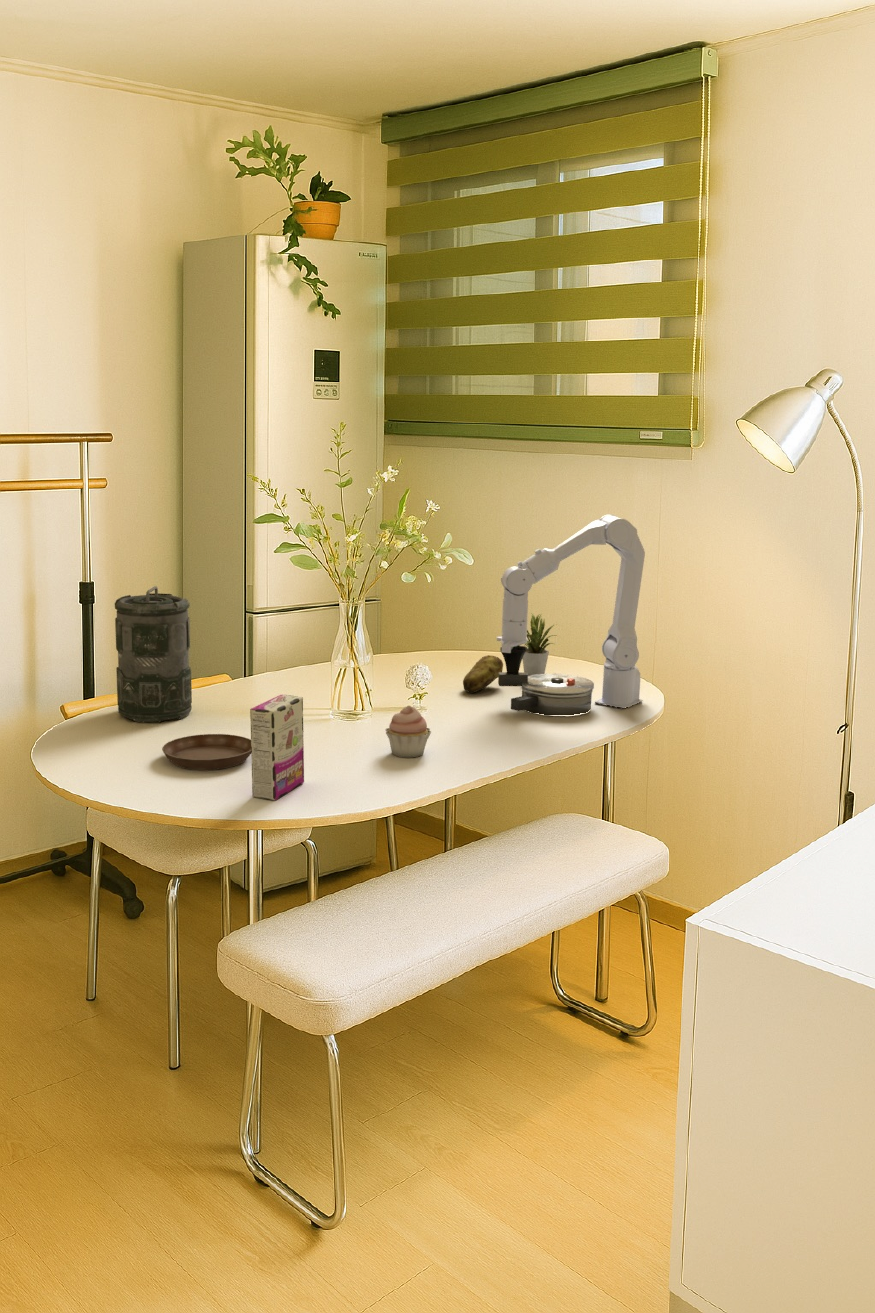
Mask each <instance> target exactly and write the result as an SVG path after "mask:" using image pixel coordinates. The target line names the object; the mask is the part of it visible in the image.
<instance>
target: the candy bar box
mask: <svg viewBox="0 0 875 1313" xmlns="http://www.w3.org/2000/svg"><path fill="white" fill-rule="evenodd" d="M303 700H304V697H303V696H296V695H289V694H288V695H287V694H278V695H277V696H274V697H273V698H271V699H269V700H266V701H264V702H262V703H260V704H258V705H256V706H254V707H252V708H250V712H249V713H250V716H249V718H250V740H251V783H252V784H251V786H252V787H251V788H252V792H251V793H252V797H253V798H255V799H259V800H261V799H262V800H267V801H268V800H269V801H277V800H279V799H280V798H282V797H283V796H285V795H287V794H288V793H290V792H292V791H293V790H295V789H296V788H297V787H299V786H301V785H302V784H304V783H305V762H304V761H305V760H304V759H305V758H304V756H305V754H304V748H305V746H304V744H305V743H304V704H303V703H304V701H303Z"/></svg>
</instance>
